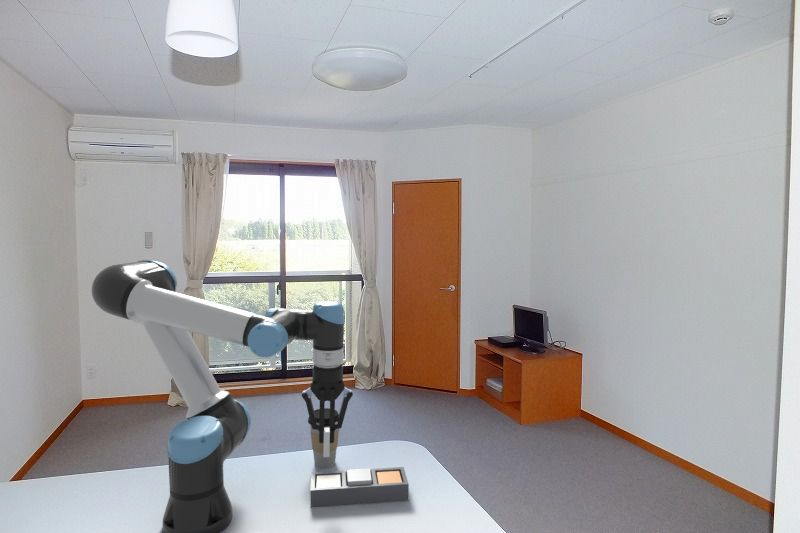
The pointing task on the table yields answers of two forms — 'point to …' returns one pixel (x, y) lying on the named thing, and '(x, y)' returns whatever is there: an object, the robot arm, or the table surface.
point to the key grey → (359, 477)
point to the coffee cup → (319, 447)
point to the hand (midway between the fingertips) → (326, 454)
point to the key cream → (328, 481)
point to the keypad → (358, 490)
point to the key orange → (388, 477)
